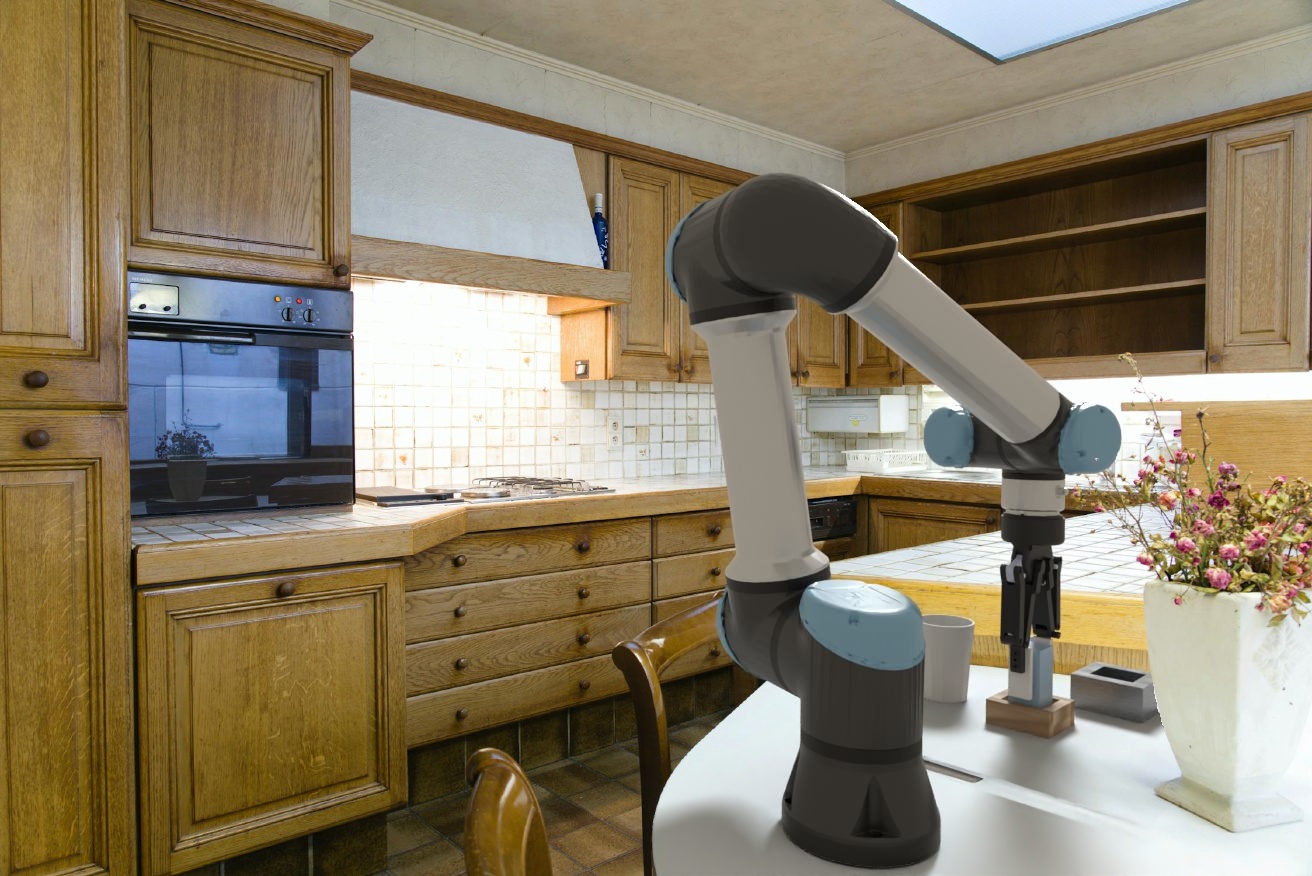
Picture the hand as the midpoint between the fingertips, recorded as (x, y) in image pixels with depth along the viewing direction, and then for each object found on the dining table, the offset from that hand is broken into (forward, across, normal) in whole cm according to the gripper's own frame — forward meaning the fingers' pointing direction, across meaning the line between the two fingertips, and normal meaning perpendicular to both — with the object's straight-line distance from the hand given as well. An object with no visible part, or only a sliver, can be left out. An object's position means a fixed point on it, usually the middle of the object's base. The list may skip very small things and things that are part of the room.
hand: (1030, 691), depth 111 cm
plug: (+4, 0, 0) cm, 4 cm away
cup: (+5, +2, +13) cm, 14 cm away
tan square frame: (+4, 0, 0) cm, 4 cm away
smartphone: (+6, -17, +5) cm, 19 cm away
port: (+4, +15, -6) cm, 17 cm away
